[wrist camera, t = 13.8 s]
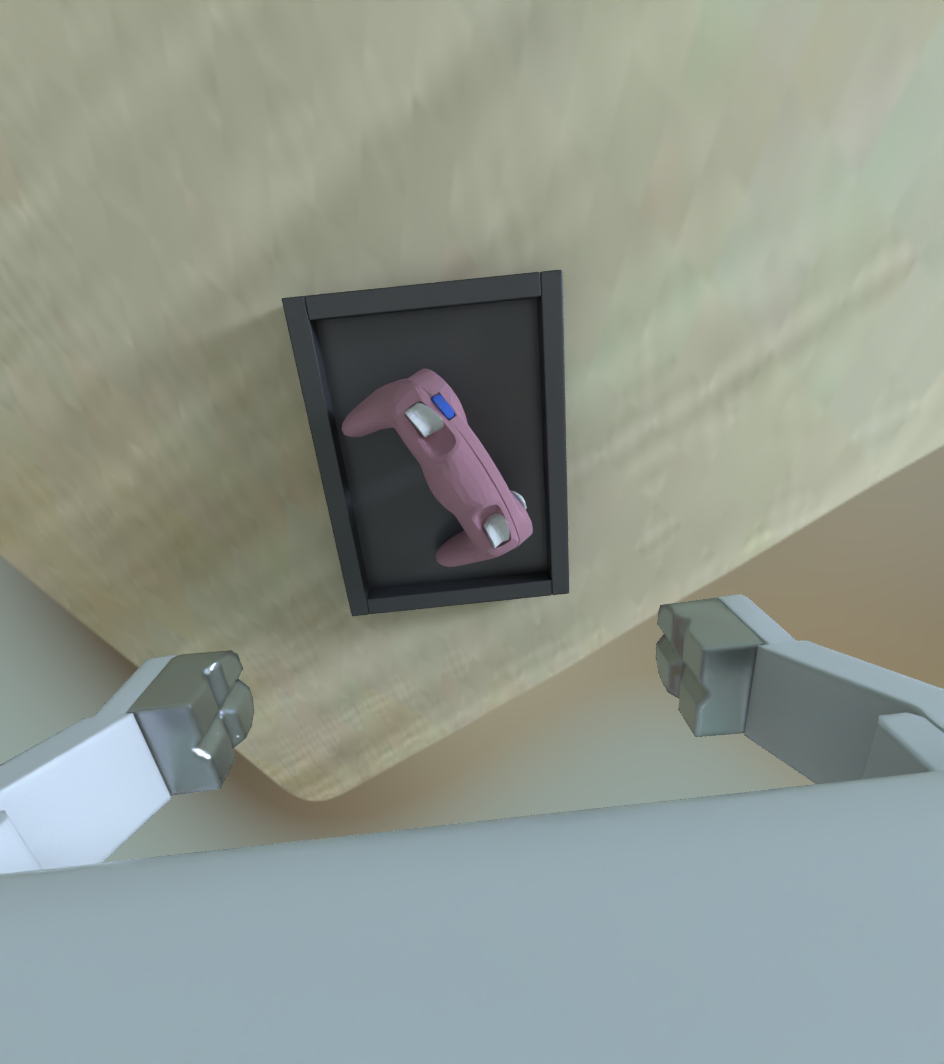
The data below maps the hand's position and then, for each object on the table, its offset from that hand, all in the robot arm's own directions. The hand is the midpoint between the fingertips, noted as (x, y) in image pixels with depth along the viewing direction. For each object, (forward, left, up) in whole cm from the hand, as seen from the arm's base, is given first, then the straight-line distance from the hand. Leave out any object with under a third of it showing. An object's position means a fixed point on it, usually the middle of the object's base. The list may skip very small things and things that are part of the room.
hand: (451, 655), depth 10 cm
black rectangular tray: (0, 0, -18) cm, 18 cm away
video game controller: (-1, -1, -18) cm, 18 cm away
